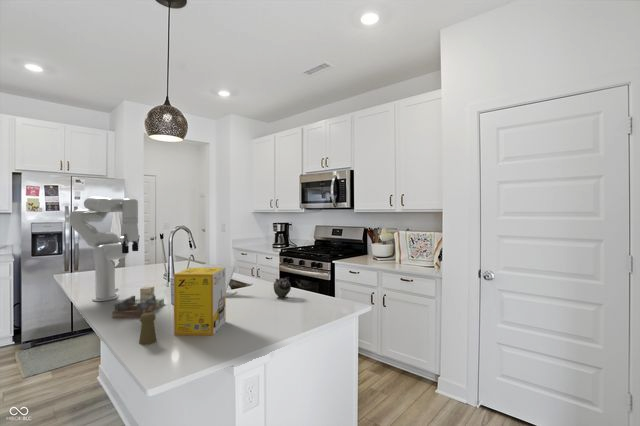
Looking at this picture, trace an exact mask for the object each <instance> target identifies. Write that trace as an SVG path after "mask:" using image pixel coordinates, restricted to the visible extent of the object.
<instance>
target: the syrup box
mask: <svg viewBox="0 0 640 426" xmlns="http://www.w3.org/2000/svg"><path fill="white" fill-rule="evenodd" d="M169 280H170V289H169V290H170V305H171V304H172V305H174V276H173V277H170V278H169Z"/></svg>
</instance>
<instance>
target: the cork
mask: <svg viewBox="0 0 640 426" xmlns="http://www.w3.org/2000/svg"><path fill="white" fill-rule="evenodd" d="M139 319H140V323H141V327H140V334H139V340H138V344H139V345H141V344H142V345H144V346H145V345H151V344H153V342H154V343H156V342H157V334H156V327H155V320H156V314H155V313H154V312H150V313H144V314H142V315H141V317H140V318H139ZM155 341H156V342H155ZM142 345H141V346H142Z"/></svg>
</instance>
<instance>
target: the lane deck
mask: <svg viewBox="0 0 640 426" xmlns="http://www.w3.org/2000/svg"><path fill="white" fill-rule="evenodd" d="M164 304H165V298H164V297H162V298H161V297H160V298H159V297H158V298H156V295H154V296H151V297H149V298H147V299H145V300H144V301H142V302H140V298H137V299H136V295H131V296H130V297H127V298H125V299H123V300H121V301H119V302H116V303H115V304H114V310H113V311H112V312H111V313H112V319H130V318H131V319H132V318H134V319H135V318H137V319H138V318H139V319H140V317H141V315H142V314H144V313H153V312H154V311H155V310H157V309H158V308H159V307H161V306H163V305H164Z"/></svg>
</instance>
